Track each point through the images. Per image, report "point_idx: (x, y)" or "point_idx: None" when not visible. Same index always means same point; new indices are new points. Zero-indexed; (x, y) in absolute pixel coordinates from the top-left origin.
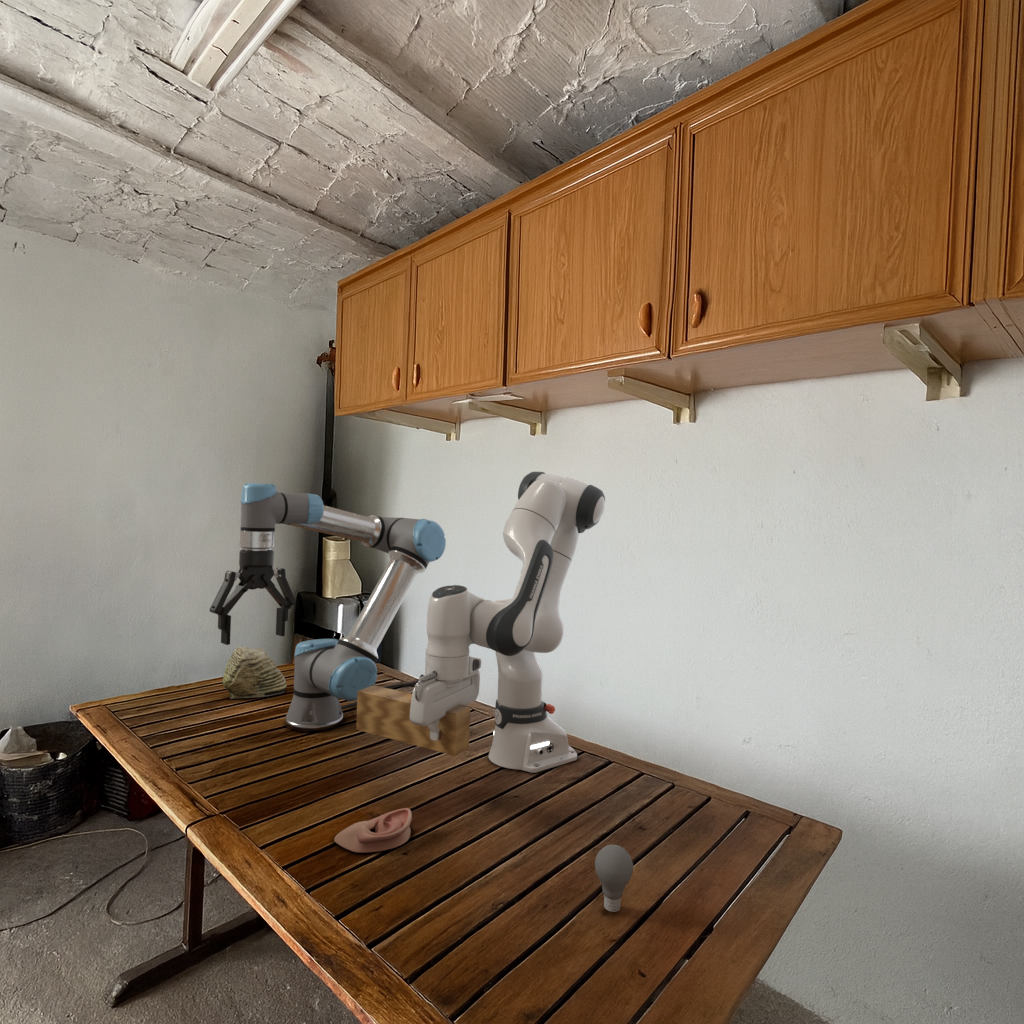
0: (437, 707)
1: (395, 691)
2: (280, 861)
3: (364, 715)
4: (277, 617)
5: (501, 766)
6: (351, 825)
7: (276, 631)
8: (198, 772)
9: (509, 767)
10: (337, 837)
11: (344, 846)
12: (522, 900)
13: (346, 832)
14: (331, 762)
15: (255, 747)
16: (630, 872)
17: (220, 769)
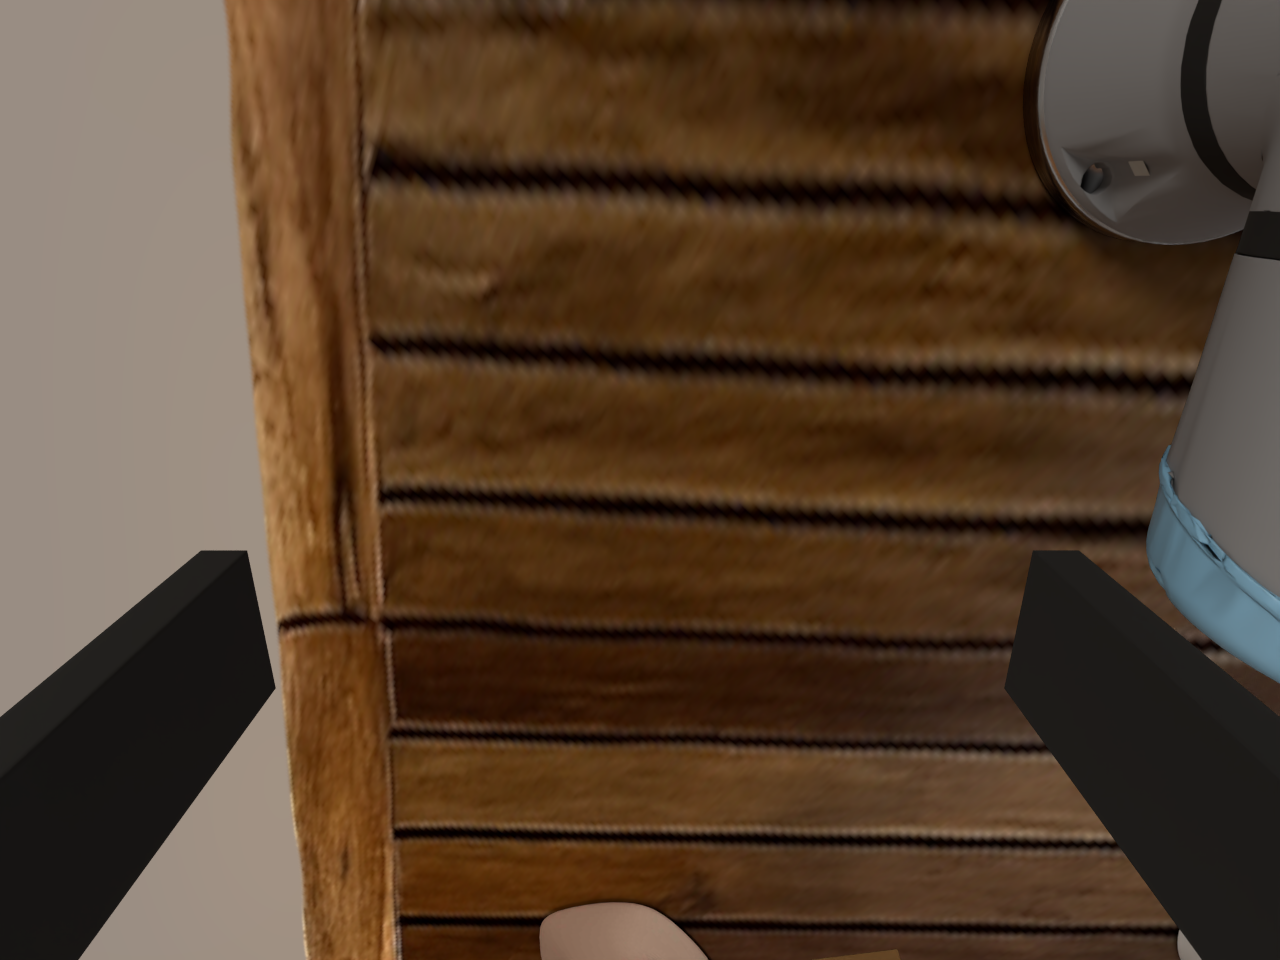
0: None
1: None
2: (406, 899)
3: None
4: (1204, 760)
5: (1178, 934)
6: (603, 922)
7: (1053, 592)
8: (437, 267)
9: (1180, 955)
10: (547, 931)
11: (541, 955)
12: None
13: (565, 948)
14: (865, 553)
15: (753, 178)
16: None
17: (519, 305)
